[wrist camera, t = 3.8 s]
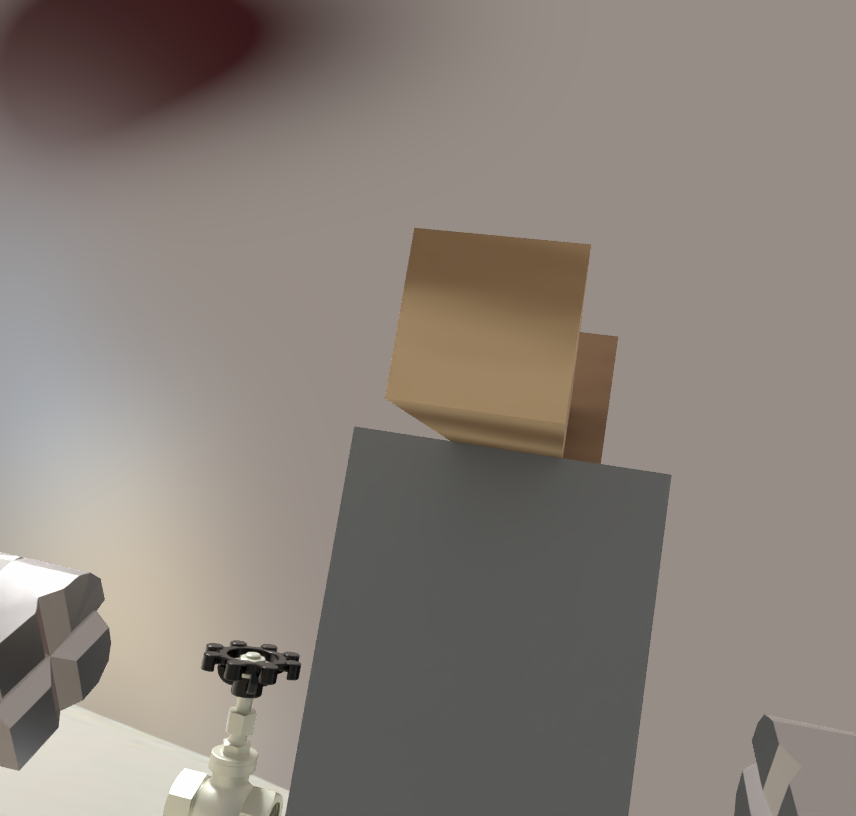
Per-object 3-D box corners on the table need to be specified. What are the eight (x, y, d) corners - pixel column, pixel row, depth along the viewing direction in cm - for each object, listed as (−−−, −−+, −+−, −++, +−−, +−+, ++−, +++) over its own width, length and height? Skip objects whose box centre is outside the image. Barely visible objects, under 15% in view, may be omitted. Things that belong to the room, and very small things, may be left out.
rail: (662, 437, 13) (708, 79, 14) (301, 386, 14) (361, 63, 15) (591, 486, 40) (608, 365, 41) (468, 467, 42) (487, 350, 42)
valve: (195, 811, 50) (229, 634, 51) (284, 835, 48) (316, 654, 50) (142, 856, 43) (182, 653, 45) (244, 885, 42) (282, 675, 43)
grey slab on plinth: (586, 1536, 18) (713, 478, 20) (146, 1342, 20) (315, 418, 23) (570, 995, 37) (636, 494, 40) (349, 930, 39) (427, 460, 42)
